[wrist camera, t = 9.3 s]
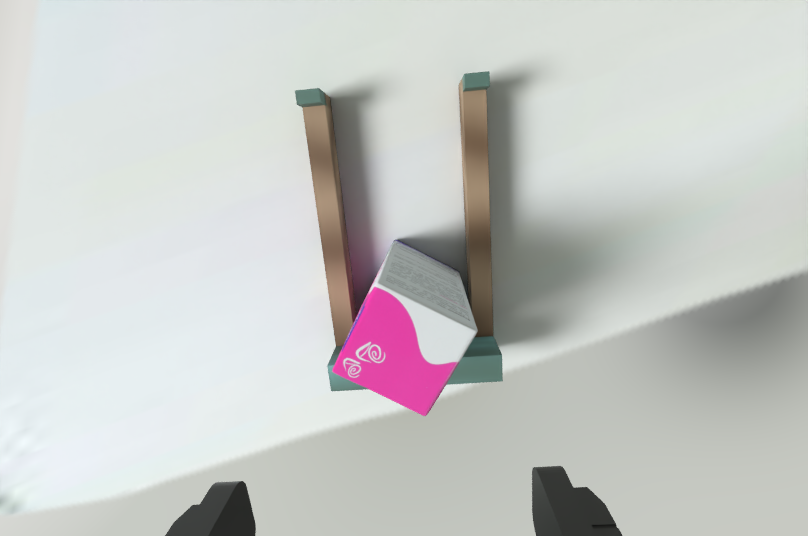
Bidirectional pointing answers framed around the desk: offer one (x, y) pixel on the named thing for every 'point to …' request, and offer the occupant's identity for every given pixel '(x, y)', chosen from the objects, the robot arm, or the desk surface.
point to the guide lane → (483, 351)
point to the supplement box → (409, 330)
